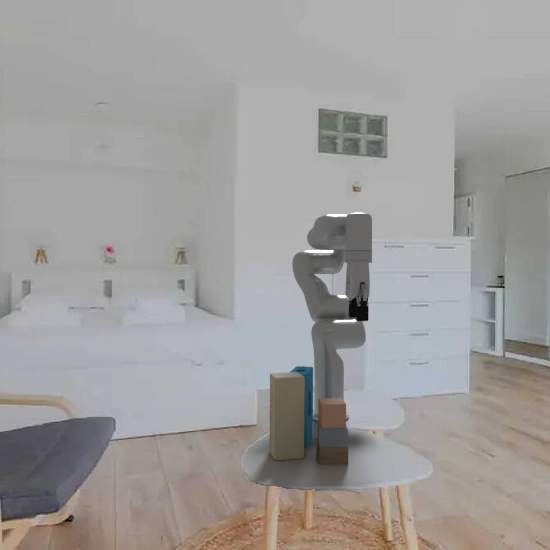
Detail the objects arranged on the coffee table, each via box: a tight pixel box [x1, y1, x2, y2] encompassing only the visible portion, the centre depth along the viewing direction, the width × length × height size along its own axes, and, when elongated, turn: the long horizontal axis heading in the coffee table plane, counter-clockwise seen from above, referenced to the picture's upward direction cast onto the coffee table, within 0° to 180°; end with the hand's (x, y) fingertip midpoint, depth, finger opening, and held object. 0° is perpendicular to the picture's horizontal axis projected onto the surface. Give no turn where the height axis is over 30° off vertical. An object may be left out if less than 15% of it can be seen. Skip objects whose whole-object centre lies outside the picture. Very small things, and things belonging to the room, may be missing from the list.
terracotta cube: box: [317, 398, 347, 429], centre depth 137 cm, size 6×6×6 cm
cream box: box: [268, 372, 305, 461], centre depth 140 cm, size 8×7×21 cm
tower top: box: [317, 421, 349, 448], centre depth 137 cm, size 7×7×4 cm
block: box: [288, 365, 314, 448], centre depth 150 cm, size 12×5×20 cm, turn 165°
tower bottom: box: [316, 437, 349, 466], centre depth 137 cm, size 7×7×4 cm
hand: (358, 319), depth 150 cm, fingers open, 9 cm apart
